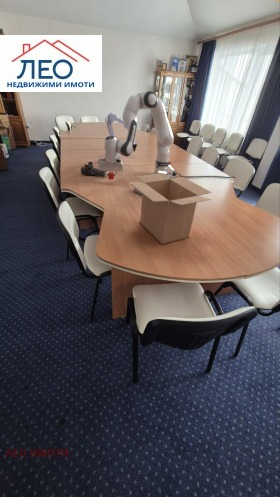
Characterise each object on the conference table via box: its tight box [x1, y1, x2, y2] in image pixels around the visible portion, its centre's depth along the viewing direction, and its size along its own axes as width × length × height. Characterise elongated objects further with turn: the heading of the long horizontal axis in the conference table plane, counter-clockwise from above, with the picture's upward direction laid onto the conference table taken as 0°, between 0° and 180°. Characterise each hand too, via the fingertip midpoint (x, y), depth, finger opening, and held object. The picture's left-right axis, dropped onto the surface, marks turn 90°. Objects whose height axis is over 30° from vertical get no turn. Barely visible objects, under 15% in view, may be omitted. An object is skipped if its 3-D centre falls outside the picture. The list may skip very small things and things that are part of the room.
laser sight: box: [80, 161, 107, 177], centre depth 198 cm, size 10×22×10 cm, turn 78°
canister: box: [107, 171, 115, 181], centre depth 184 cm, size 5×5×5 cm
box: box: [128, 173, 212, 245], centre depth 124 cm, size 44×36×27 cm
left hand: (131, 151), depth 253 cm, fingers open, 7 cm apart
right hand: (111, 176), depth 184 cm, fingers closed on canister, 5 cm apart
